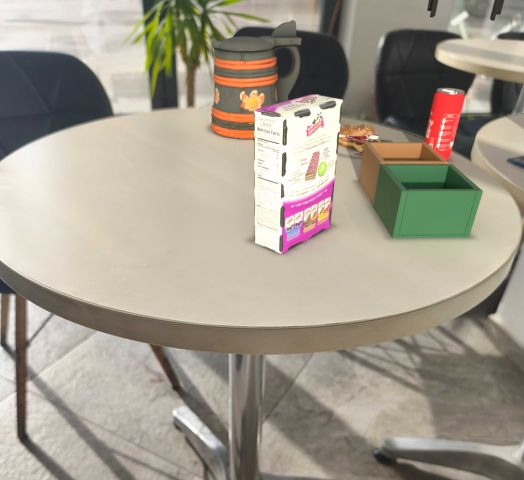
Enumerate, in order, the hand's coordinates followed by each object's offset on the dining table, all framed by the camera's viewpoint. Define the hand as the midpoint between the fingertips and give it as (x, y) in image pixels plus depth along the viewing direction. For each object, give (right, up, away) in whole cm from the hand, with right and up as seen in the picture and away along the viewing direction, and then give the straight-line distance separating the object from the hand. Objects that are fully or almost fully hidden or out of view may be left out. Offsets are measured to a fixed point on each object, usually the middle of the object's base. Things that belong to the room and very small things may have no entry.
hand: (461, 18), depth 83 cm
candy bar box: (-29, -41, -16) cm, 53 cm away
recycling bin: (-11, -38, -12) cm, 41 cm away
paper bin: (-12, -31, -4) cm, 33 cm away
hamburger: (-14, -16, +15) cm, 26 cm away
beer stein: (-35, -8, +25) cm, 44 cm away
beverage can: (-1, -20, +11) cm, 23 cm away
